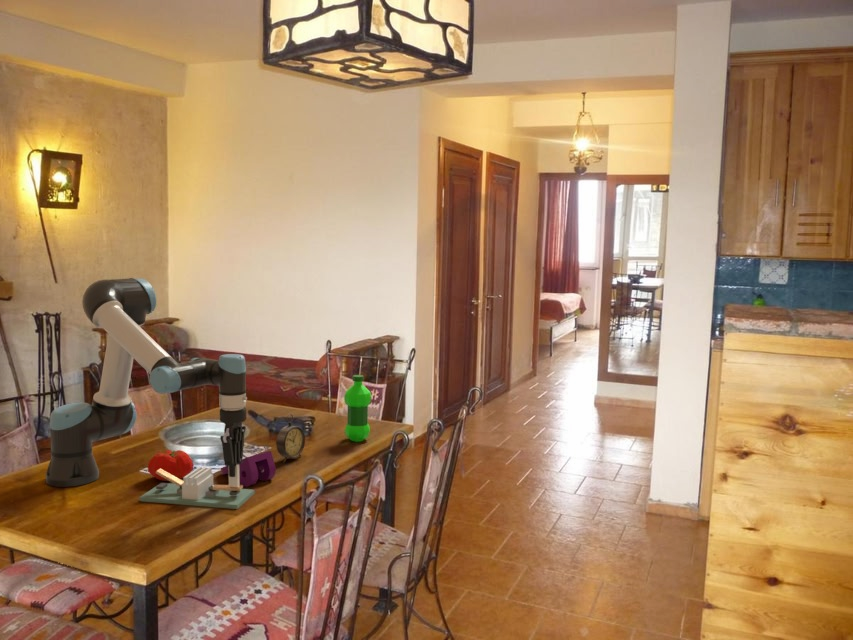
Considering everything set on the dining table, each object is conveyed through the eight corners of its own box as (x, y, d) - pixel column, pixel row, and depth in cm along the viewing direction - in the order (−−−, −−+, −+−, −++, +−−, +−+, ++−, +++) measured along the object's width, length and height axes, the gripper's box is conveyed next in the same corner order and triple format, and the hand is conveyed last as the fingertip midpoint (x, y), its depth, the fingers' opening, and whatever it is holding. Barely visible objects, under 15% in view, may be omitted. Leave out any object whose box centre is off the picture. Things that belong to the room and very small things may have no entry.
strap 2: (208, 490, 217) (208, 486, 216) (212, 487, 219) (212, 483, 219) (239, 491, 215) (239, 487, 215) (243, 488, 218) (242, 484, 218)
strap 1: (154, 473, 219) (156, 470, 218) (159, 471, 221) (160, 467, 221) (182, 489, 218) (184, 485, 218) (186, 486, 220) (188, 482, 220)
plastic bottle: (365, 444, 278) (366, 379, 275) (339, 441, 281) (340, 377, 278) (374, 437, 287) (375, 374, 285) (349, 435, 290) (350, 372, 287)
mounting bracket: (222, 495, 237) (254, 483, 226) (215, 470, 239) (246, 457, 228) (245, 488, 245) (278, 476, 234) (238, 463, 246) (270, 450, 235)
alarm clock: (285, 464, 251) (285, 418, 250) (273, 462, 254) (273, 416, 252) (305, 456, 261) (306, 412, 259) (294, 454, 264) (294, 409, 262)
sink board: (139, 501, 215) (138, 475, 214) (161, 486, 227) (161, 462, 226) (237, 509, 210) (237, 483, 209) (254, 493, 223) (254, 469, 222)
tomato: (195, 470, 243) (195, 444, 242) (192, 483, 231) (192, 456, 230) (151, 473, 240) (150, 446, 239) (146, 485, 228) (145, 458, 227)
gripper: (236, 413, 207) (237, 494, 210) (253, 403, 220) (254, 479, 222) (210, 412, 208) (212, 492, 211) (230, 402, 221) (231, 478, 223)
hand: (234, 486), depth 217 cm, fingers closed
